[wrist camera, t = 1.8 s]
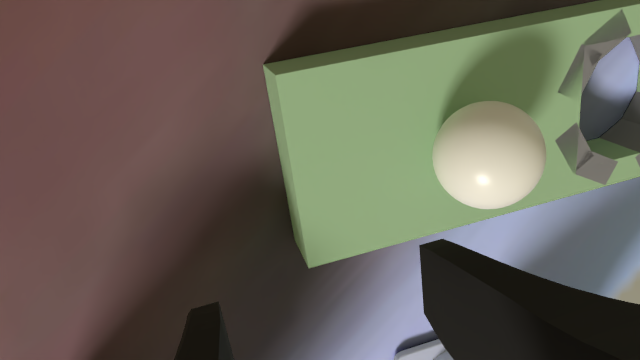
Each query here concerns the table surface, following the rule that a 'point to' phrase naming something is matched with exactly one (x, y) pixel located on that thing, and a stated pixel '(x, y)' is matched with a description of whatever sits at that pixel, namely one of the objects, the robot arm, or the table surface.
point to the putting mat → (439, 123)
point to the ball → (489, 155)
